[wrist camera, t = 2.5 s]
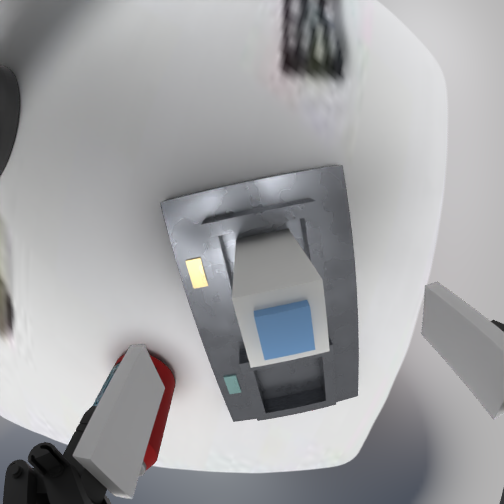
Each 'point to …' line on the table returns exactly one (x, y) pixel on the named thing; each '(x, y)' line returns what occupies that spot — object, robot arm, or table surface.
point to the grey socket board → (221, 284)
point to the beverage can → (162, 412)
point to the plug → (278, 299)
